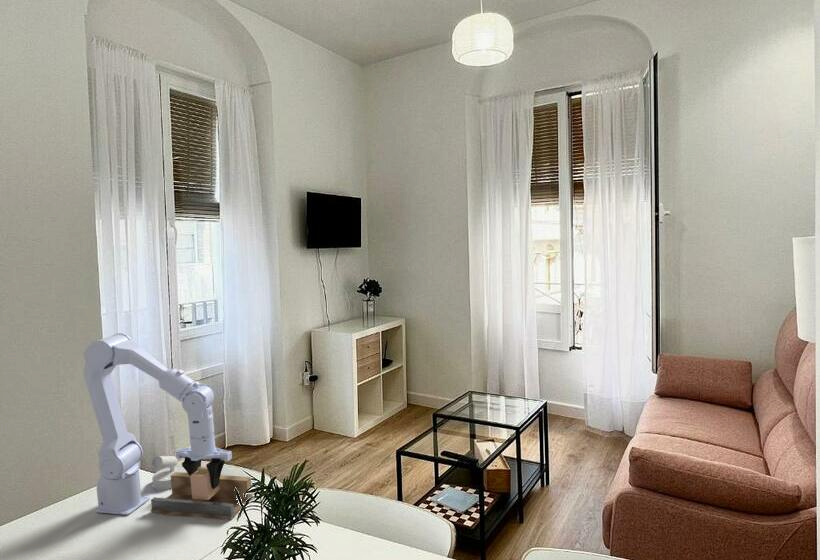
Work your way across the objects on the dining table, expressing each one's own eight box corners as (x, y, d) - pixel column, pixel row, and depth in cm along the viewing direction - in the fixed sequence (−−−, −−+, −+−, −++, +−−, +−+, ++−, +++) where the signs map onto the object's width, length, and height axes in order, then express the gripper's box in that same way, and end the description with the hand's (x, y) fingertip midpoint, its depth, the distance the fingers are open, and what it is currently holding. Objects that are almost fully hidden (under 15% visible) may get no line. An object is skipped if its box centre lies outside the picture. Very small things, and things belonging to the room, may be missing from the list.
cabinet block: (192, 498, 128) (189, 472, 127) (204, 488, 133) (201, 462, 132) (208, 500, 127) (205, 473, 126) (219, 489, 132) (217, 463, 131)
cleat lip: (151, 509, 128) (150, 499, 128) (155, 506, 129) (154, 497, 129) (231, 516, 123) (230, 506, 123) (234, 513, 124) (233, 503, 124)
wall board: (151, 513, 128) (149, 490, 127) (177, 492, 137) (175, 472, 137) (231, 520, 123) (229, 497, 123) (252, 498, 133) (250, 477, 132)
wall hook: (140, 458, 138) (161, 442, 148) (143, 492, 139) (164, 474, 148) (170, 458, 137) (190, 442, 147) (173, 492, 138) (192, 474, 148)
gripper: (166, 439, 127) (170, 492, 128) (218, 442, 123) (223, 496, 125) (184, 428, 133) (188, 478, 135) (234, 430, 130) (238, 482, 132)
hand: (206, 486), depth 130 cm, fingers closed on cabinet block, 4 cm apart
